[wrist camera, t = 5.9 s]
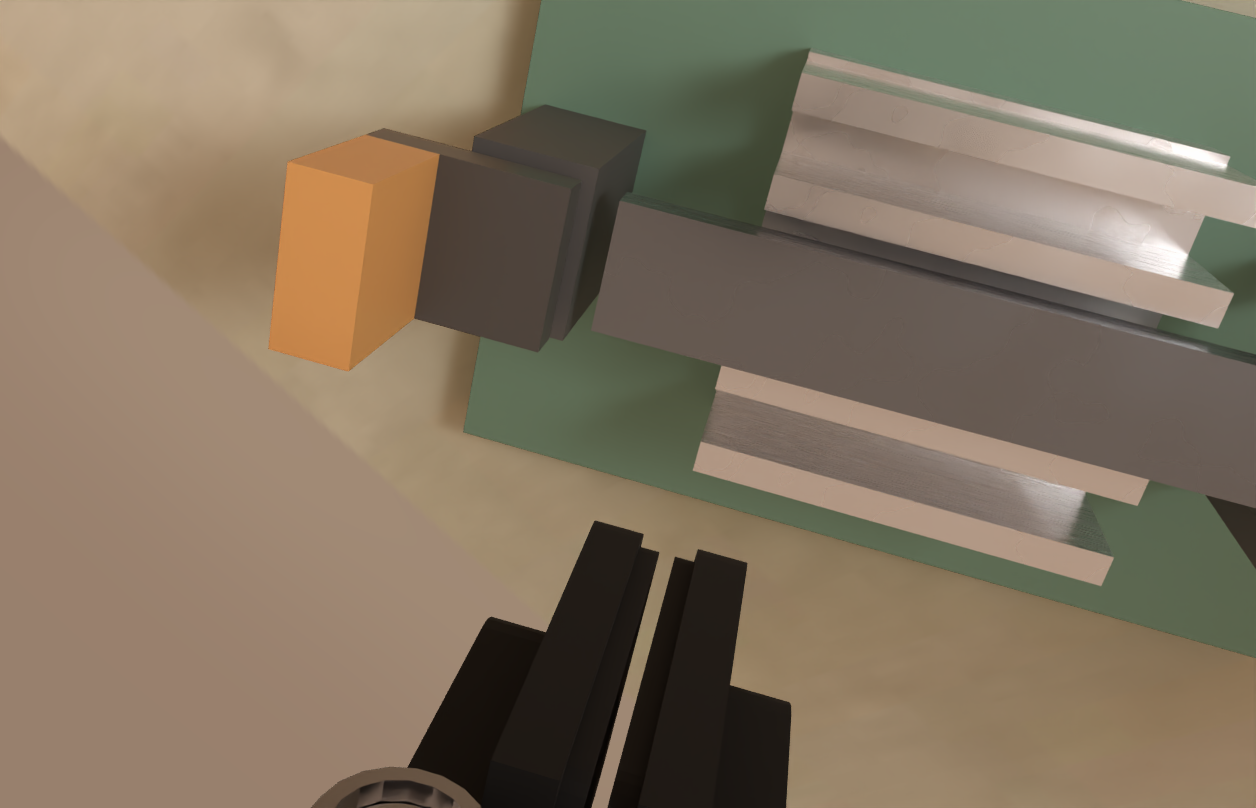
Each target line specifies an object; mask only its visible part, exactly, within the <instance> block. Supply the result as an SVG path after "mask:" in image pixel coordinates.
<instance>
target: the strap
mask: <svg viewBox="0 0 1256 808" xmlns="http://www.w3.org/2000/svg"><path fill="white" fill-rule="evenodd" d="M591 331H594V332H598V333H602V334H606V335H609V336H613V337H617V338H621V339H624V340H628V341H632V342H636V343H639V344H643V345H647V346H651V347H654V348H658V349H662V350H665V351H669V352H673V353H677V354H680V355H684V356H688V357H692V358H695V359H699V360H703V361H707V362H710V363H714V364H718V365H722V366H725V367H729V368H733V369H737V370H740V371H744V372H748V373H751V374H755V375H759V376H763V377H766V378H770V379H774V380H778V381H781V382H785V383H789V384H793V385H796V386H800V387H804V388H808V389H811V390H815V391H819V392H823V393H826V394H830V395H834V396H837V397H841V398H845V399H849V400H852V401H856V402H860V403H864V404H867V405H871V406H875V407H879V408H882V409H886V410H890V411H894V412H897V413H901V414H905V415H909V416H912V417H916V418H920V419H924V420H927V421H931V422H935V423H938V424H942V425H946V426H950V427H953V428H957V429H961V430H965V431H968V432H972V433H976V434H980V435H983V436H987V437H991V438H995V439H998V440H1002V441H1006V442H1010V443H1013V444H1017V445H1021V446H1024V447H1028V448H1032V449H1036V450H1039V451H1043V452H1047V453H1051V454H1054V455H1058V456H1062V457H1066V458H1069V459H1073V460H1077V461H1081V462H1084V463H1088V464H1092V465H1096V466H1099V467H1103V468H1107V469H1110V470H1114V471H1118V472H1122V473H1125V474H1129V475H1133V476H1137V477H1140V478H1144V479H1148V480H1152V481H1155V482H1159V483H1163V484H1167V485H1170V486H1174V487H1178V488H1182V489H1185V490H1189V491H1193V492H1196V493H1200V494H1204V495H1208V496H1211V497H1215V498H1219V499H1223V500H1226V501H1230V502H1234V503H1238V504H1241V505H1245V506H1249V507H1253V508H1256V354H1252V353H1248V352H1245V351H1241V350H1237V349H1233V348H1229V347H1225V346H1221V345H1218V344H1214V343H1210V342H1206V341H1202V340H1198V339H1194V338H1190V337H1187V336H1183V335H1179V334H1175V333H1171V332H1167V331H1163V330H1160V329H1156V328H1152V327H1148V326H1144V325H1140V324H1136V323H1132V322H1129V321H1125V320H1121V319H1117V318H1113V317H1109V316H1105V315H1102V314H1098V313H1094V312H1090V311H1086V310H1082V309H1078V308H1074V307H1071V306H1067V305H1063V304H1059V303H1055V302H1051V301H1047V300H1043V299H1040V298H1036V297H1032V296H1028V295H1024V294H1020V293H1016V292H1013V291H1009V290H1005V289H1001V288H997V287H993V286H989V285H985V284H982V283H978V282H974V281H970V280H966V279H962V278H958V277H955V276H951V275H947V274H943V273H939V272H935V271H931V270H927V269H924V268H920V267H916V266H912V265H908V264H904V263H900V262H897V261H893V260H889V259H885V258H881V257H877V256H873V255H869V254H866V253H862V252H858V251H854V250H850V249H846V248H842V247H839V246H835V245H831V244H827V243H823V242H819V241H815V240H811V239H808V238H804V237H800V236H796V235H792V234H788V233H784V232H781V231H777V230H773V229H769V228H765V227H761V226H757V225H753V224H750V223H746V222H742V221H738V220H734V219H730V218H726V217H722V216H719V215H715V214H711V213H707V212H703V211H699V210H695V209H692V208H688V207H684V206H680V205H676V204H672V203H668V202H664V201H661V200H657V199H653V198H649V197H645V196H641V195H637V194H634V193H630V192H627V193H626V194H625V195H624V196H623V197H622V199H621V200H620V202H619V206H618V211H617V215H616V220H615V224H614V229H613V233H612V238H611V242H610V247H609V251H608V256H607V260H606V265H605V269H604V274H603V278H602V283H601V288H600V292H599V297H598V301H597V306H596V310H595V315H594V319H593V324H592V328H591Z"/></svg>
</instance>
